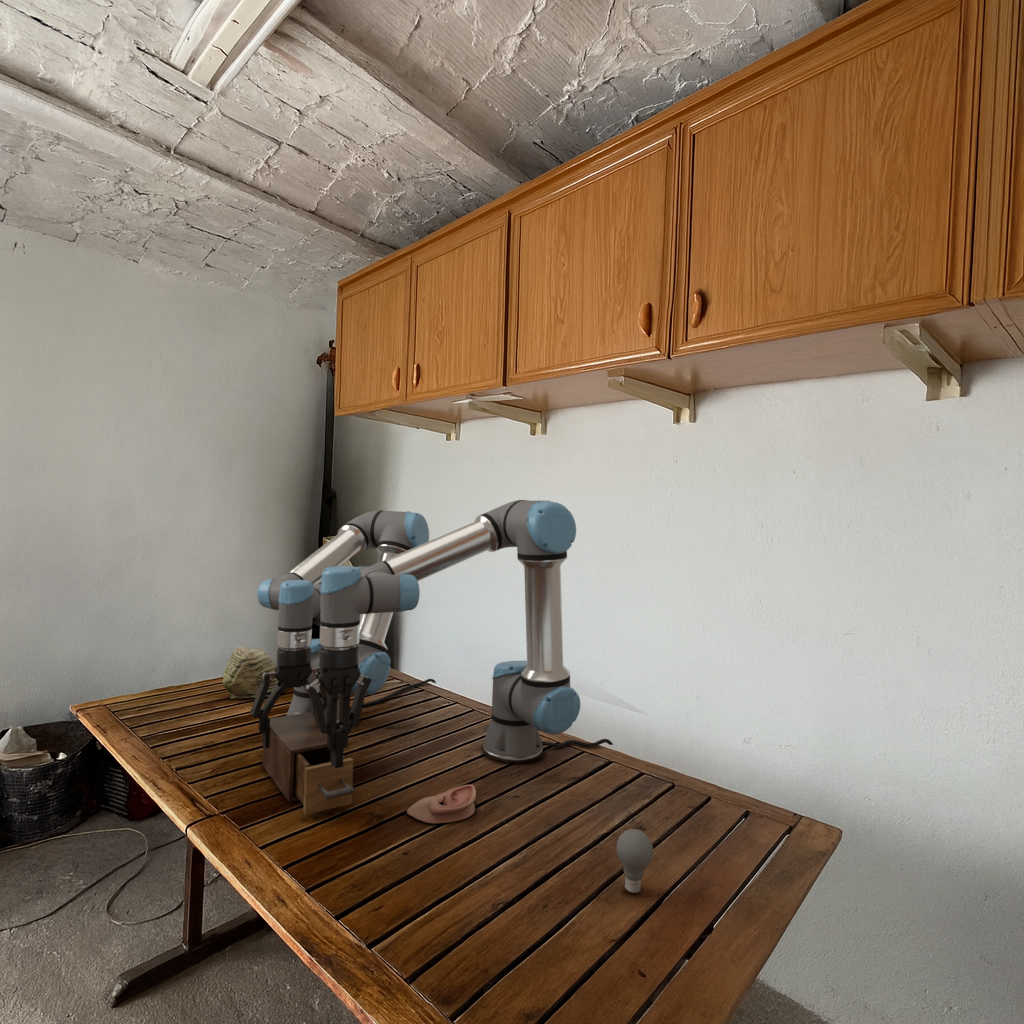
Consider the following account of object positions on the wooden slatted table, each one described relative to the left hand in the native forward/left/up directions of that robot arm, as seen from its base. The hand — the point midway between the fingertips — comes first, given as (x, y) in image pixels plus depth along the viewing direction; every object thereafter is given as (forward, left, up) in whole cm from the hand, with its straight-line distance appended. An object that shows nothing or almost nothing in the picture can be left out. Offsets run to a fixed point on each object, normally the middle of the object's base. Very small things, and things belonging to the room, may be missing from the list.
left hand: (291, 741), depth 148 cm
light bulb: (-12, +83, -6) cm, 84 cm away
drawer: (+5, +18, -5) cm, 20 cm away
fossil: (-21, -54, -6) cm, 58 cm away
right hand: (+8, +28, +5) cm, 29 cm away
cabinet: (+2, +7, -6) cm, 9 cm away
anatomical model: (-9, +41, -6) cm, 42 cm away
